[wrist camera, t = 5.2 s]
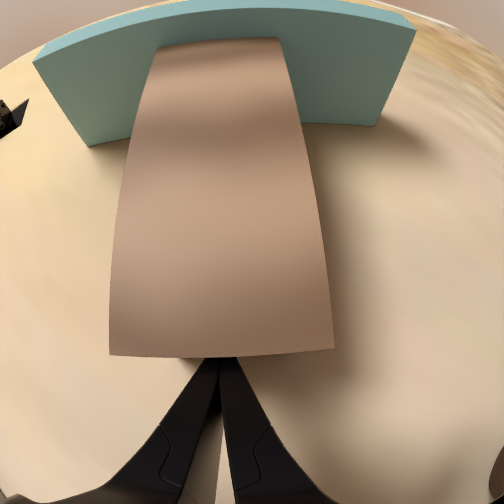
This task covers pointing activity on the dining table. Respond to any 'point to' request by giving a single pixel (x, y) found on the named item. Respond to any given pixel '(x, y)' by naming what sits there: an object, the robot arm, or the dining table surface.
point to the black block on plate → (11, 117)
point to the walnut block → (218, 212)
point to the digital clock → (1, 497)
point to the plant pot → (497, 477)
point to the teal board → (222, 27)
